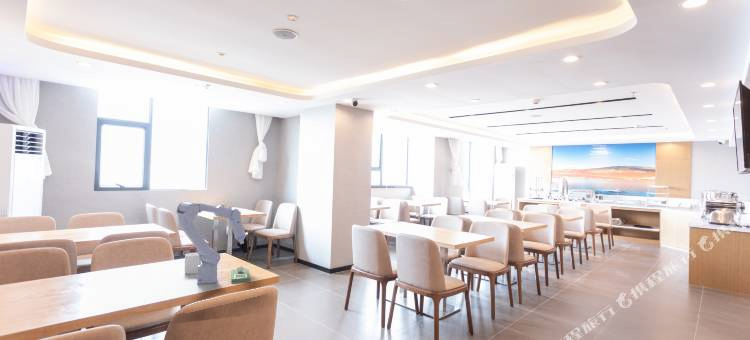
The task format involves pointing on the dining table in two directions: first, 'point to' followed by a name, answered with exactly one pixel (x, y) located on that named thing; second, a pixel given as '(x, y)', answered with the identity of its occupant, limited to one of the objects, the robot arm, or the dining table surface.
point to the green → (240, 276)
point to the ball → (240, 268)
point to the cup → (192, 263)
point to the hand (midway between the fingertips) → (245, 249)
